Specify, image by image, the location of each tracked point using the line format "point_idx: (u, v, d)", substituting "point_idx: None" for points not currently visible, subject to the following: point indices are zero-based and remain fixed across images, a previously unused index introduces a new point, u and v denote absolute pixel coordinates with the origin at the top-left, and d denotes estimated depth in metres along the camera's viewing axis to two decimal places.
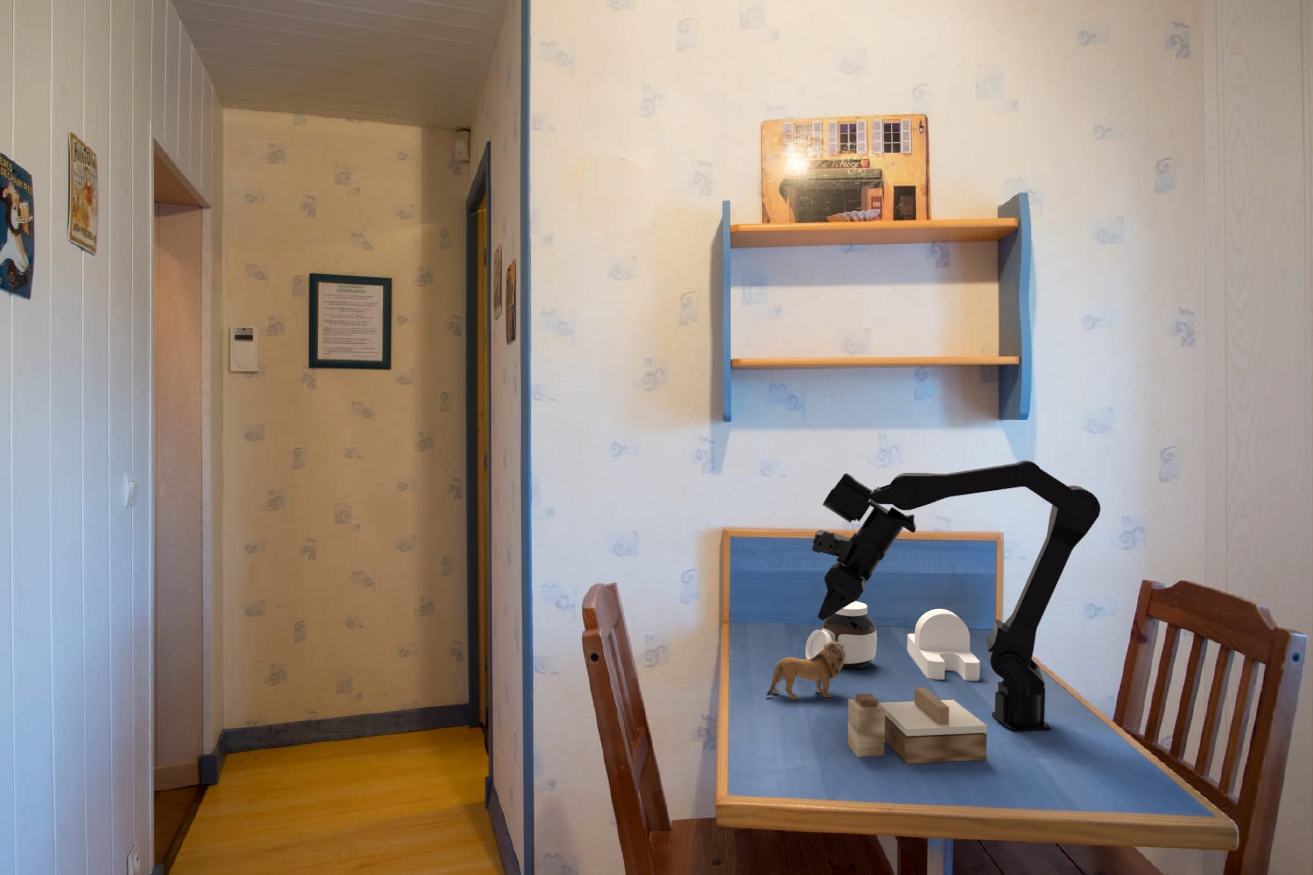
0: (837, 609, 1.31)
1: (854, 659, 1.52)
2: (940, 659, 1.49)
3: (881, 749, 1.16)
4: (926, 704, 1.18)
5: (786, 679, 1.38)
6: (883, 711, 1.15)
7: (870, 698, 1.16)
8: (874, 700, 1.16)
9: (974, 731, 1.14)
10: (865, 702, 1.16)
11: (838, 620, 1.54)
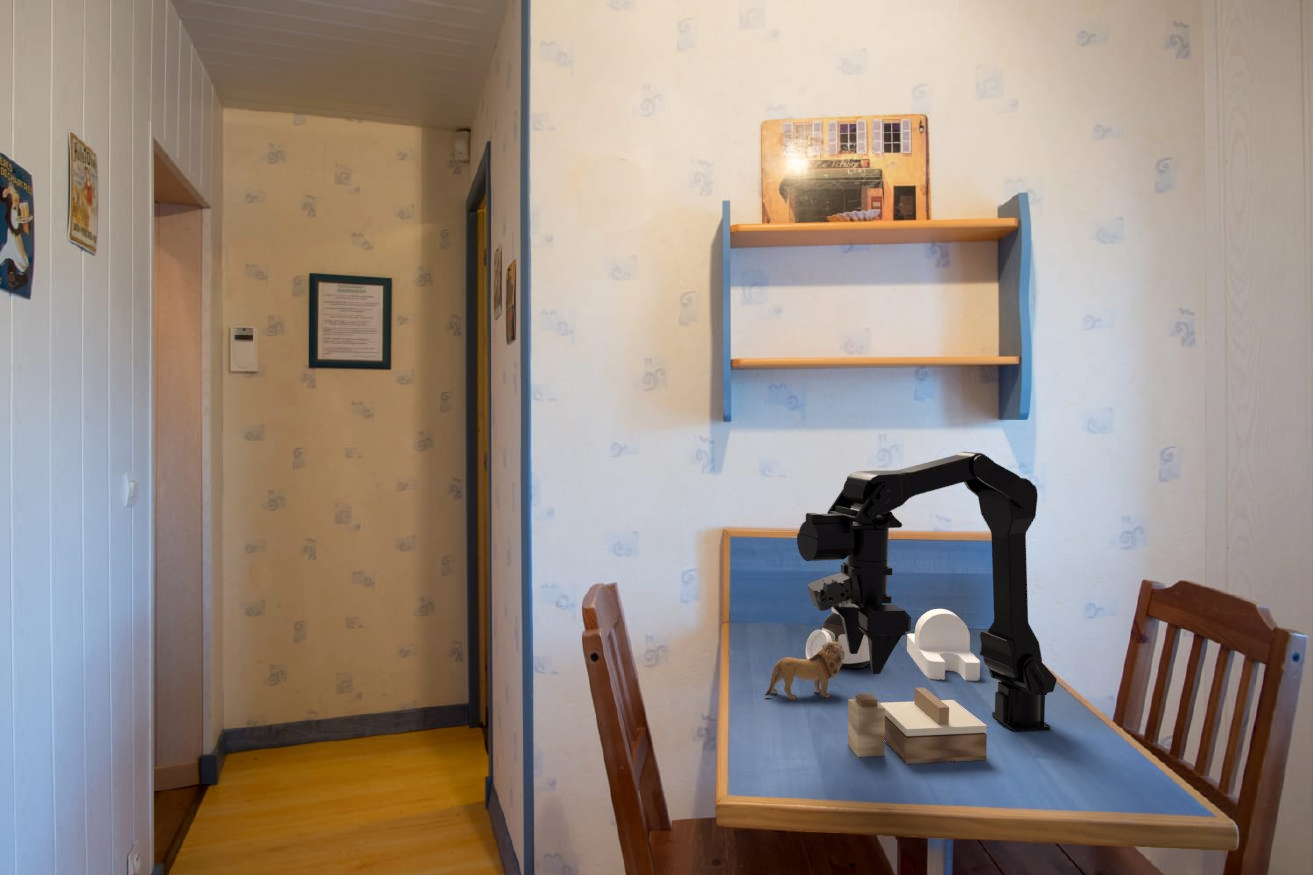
0: (889, 653, 1.12)
1: (854, 658, 1.52)
2: (940, 659, 1.49)
3: (881, 749, 1.16)
4: (926, 704, 1.18)
5: (785, 679, 1.38)
6: (883, 711, 1.15)
7: (870, 698, 1.16)
8: (874, 700, 1.16)
9: (974, 731, 1.14)
10: (865, 702, 1.16)
11: (838, 620, 1.54)
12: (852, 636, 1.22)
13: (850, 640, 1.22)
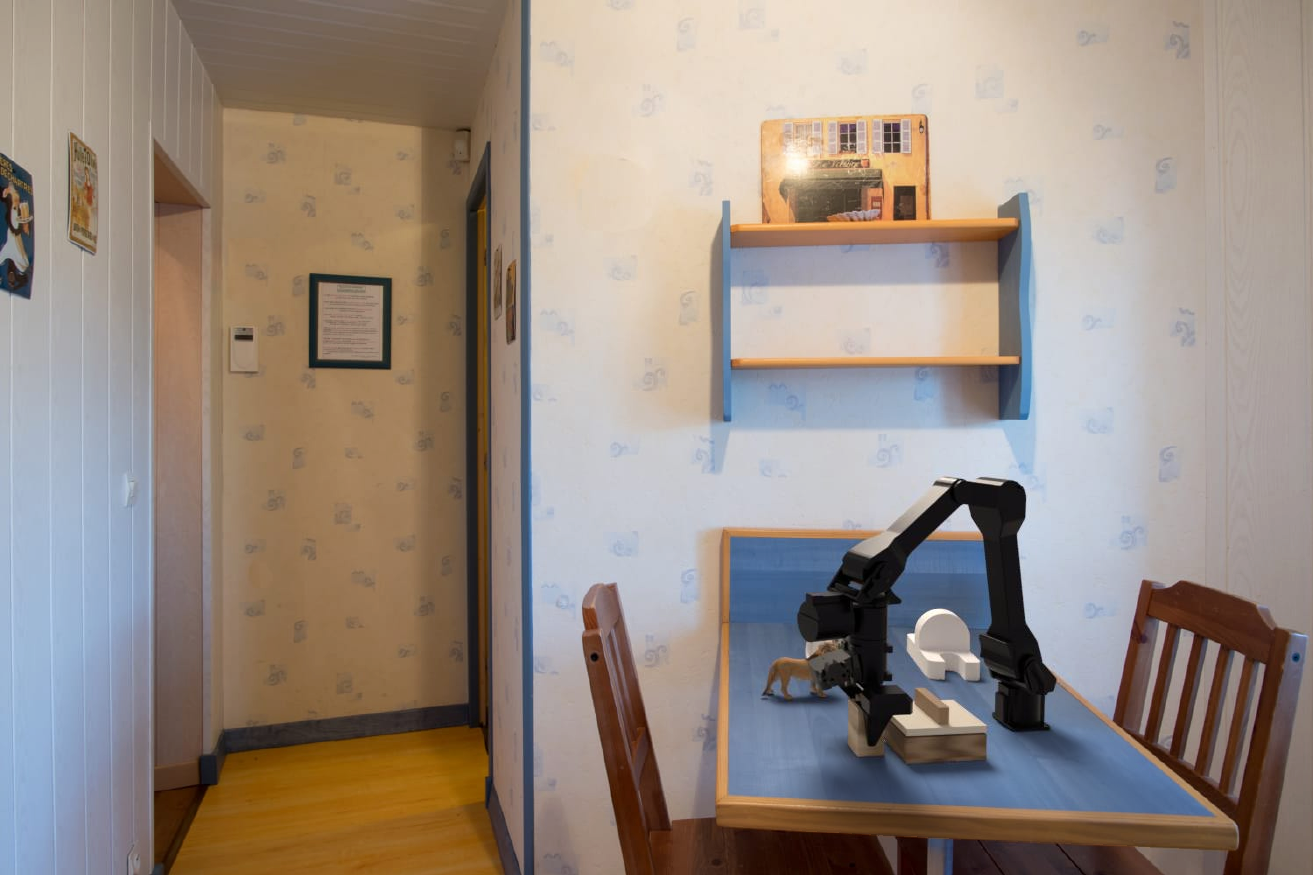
0: (884, 726, 1.14)
1: None
2: (940, 659, 1.49)
3: (881, 749, 1.16)
4: (926, 704, 1.18)
5: (781, 679, 1.38)
6: None
7: None
8: None
9: (974, 731, 1.14)
10: None
11: None
12: None
13: None
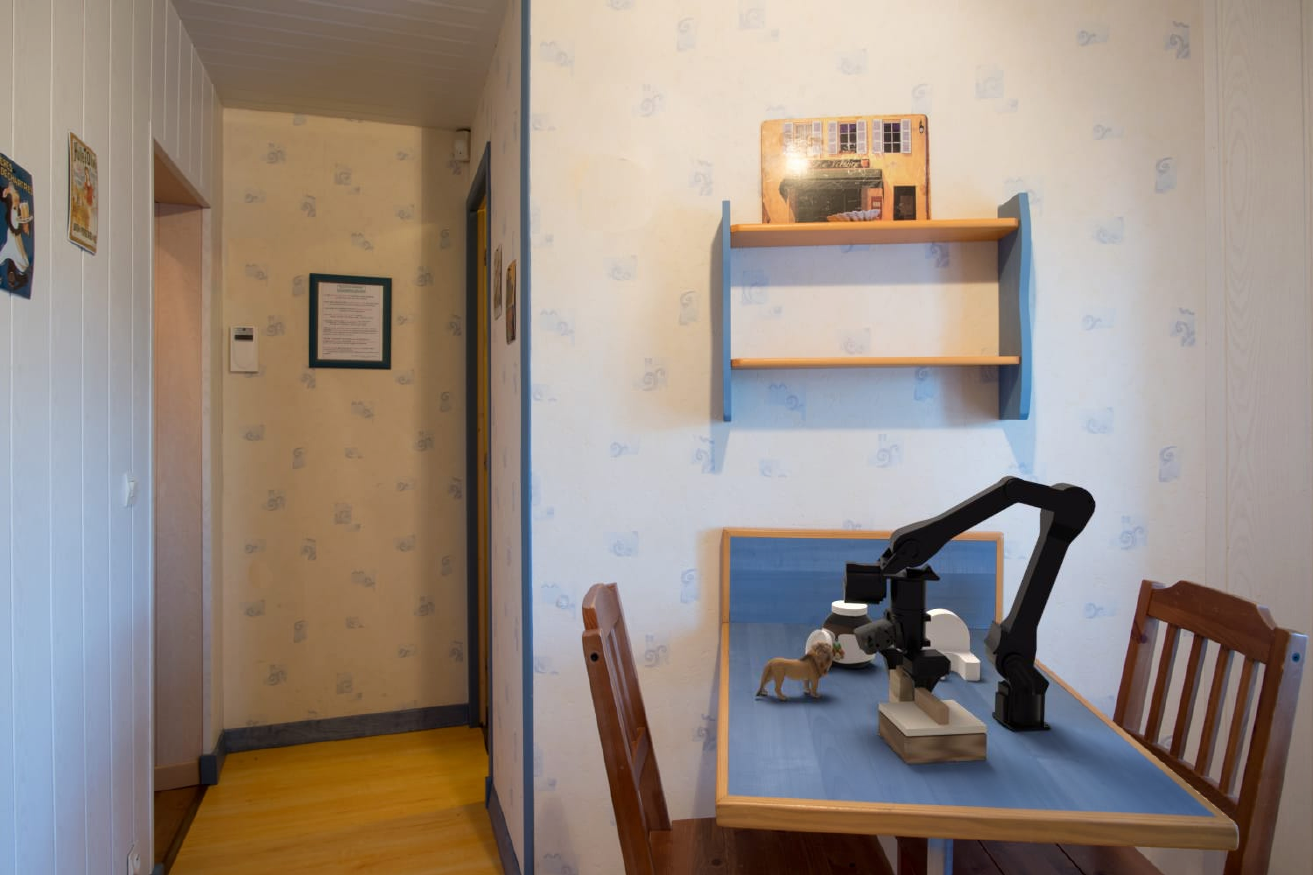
0: (929, 691, 1.25)
1: (854, 658, 1.52)
2: None
3: None
4: (926, 704, 1.18)
5: (775, 680, 1.38)
6: None
7: None
8: None
9: (974, 731, 1.14)
10: None
11: (838, 620, 1.54)
12: None
13: None
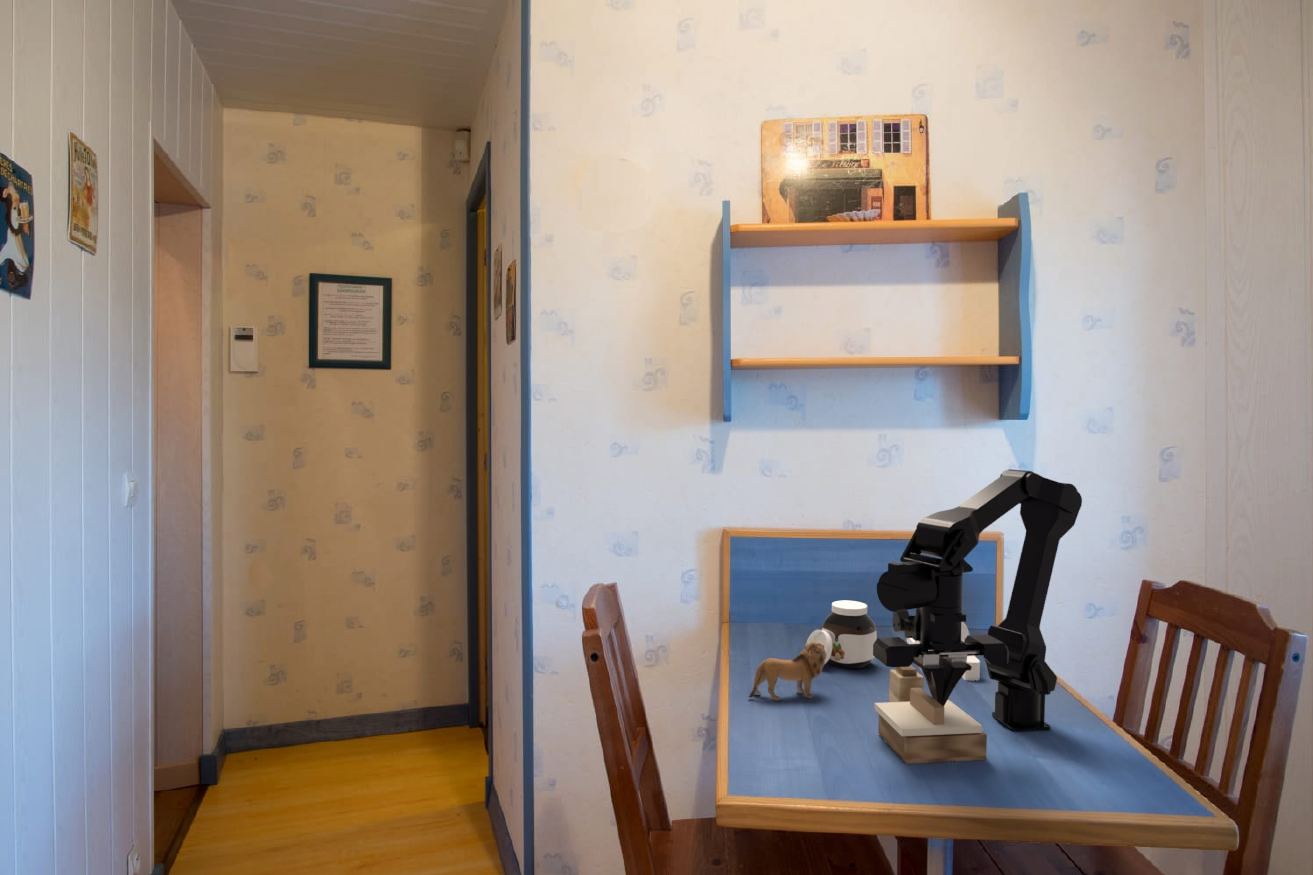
0: (936, 689, 1.17)
1: (854, 658, 1.52)
2: None
3: None
4: (922, 704, 1.18)
5: (768, 680, 1.37)
6: (922, 680, 1.29)
7: (910, 668, 1.29)
8: (913, 670, 1.29)
9: (969, 731, 1.14)
10: (905, 672, 1.29)
11: (838, 620, 1.54)
12: None
13: None
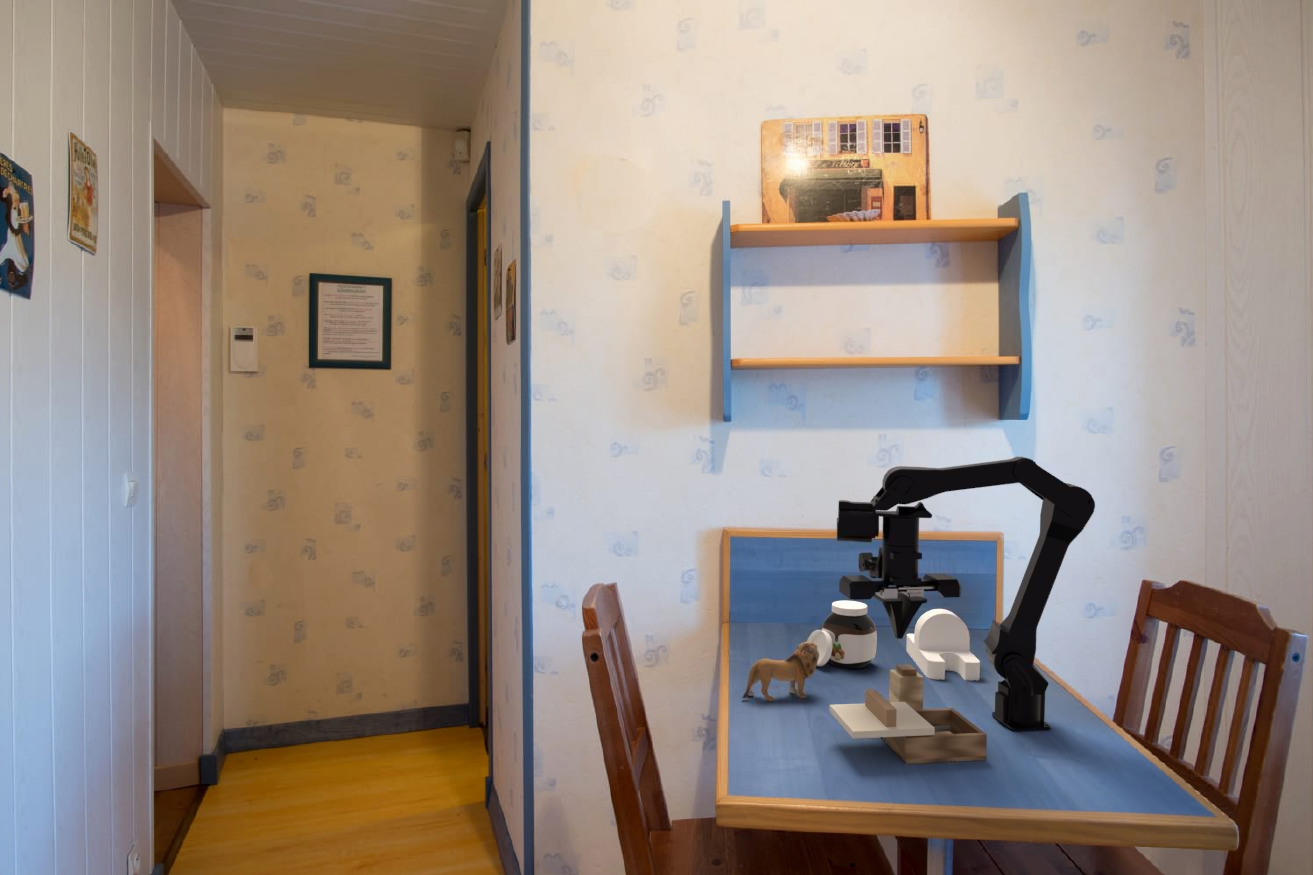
0: (895, 621, 1.29)
1: (854, 658, 1.52)
2: (940, 659, 1.49)
3: None
4: (875, 706, 1.17)
5: (762, 681, 1.37)
6: (922, 680, 1.29)
7: (910, 668, 1.29)
8: (913, 670, 1.29)
9: (921, 733, 1.13)
10: (905, 672, 1.29)
11: (838, 620, 1.54)
12: None
13: None
